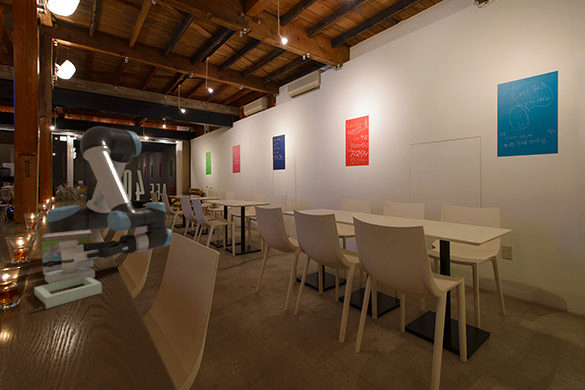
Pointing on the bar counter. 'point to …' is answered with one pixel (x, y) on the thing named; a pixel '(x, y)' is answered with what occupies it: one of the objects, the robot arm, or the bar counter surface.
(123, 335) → the bar counter surface
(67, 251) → the fuse
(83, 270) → the white square dish
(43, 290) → the parts tray
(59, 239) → the tea box
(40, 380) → the bar counter surface
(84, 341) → the bar counter surface
